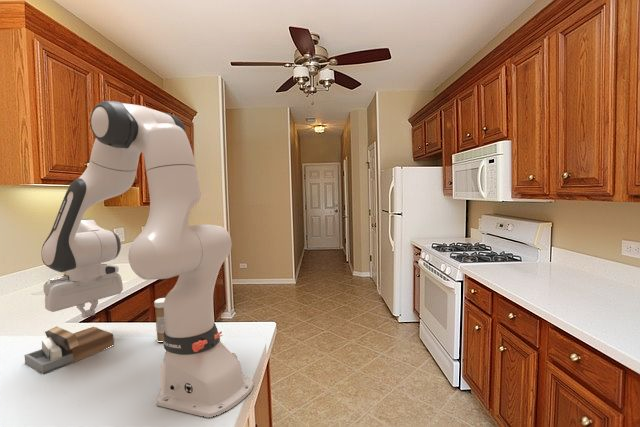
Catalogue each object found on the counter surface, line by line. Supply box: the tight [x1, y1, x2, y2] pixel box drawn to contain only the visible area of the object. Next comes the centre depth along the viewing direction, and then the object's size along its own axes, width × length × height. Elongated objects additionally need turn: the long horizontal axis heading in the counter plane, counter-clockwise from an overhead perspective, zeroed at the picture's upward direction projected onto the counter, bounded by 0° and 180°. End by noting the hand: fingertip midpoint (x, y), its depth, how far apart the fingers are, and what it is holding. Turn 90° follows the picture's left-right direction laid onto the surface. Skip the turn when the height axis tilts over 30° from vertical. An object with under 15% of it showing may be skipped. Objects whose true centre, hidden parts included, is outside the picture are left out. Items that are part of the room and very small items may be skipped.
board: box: [68, 326, 115, 363], centre depth 102 cm, size 12×11×4 cm
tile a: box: [49, 346, 62, 361], centre depth 93 cm, size 4×4×2 cm
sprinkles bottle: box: [153, 297, 166, 341], centre depth 106 cm, size 5×5×14 cm
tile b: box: [41, 337, 57, 359], centre depth 96 cm, size 4×4×2 cm
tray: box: [24, 348, 75, 375], centre depth 94 cm, size 12×7×2 cm, turn 59°
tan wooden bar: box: [44, 326, 79, 351], centre depth 97 cm, size 12×3×4 cm, turn 59°
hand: (88, 316), depth 102 cm, fingers closed
